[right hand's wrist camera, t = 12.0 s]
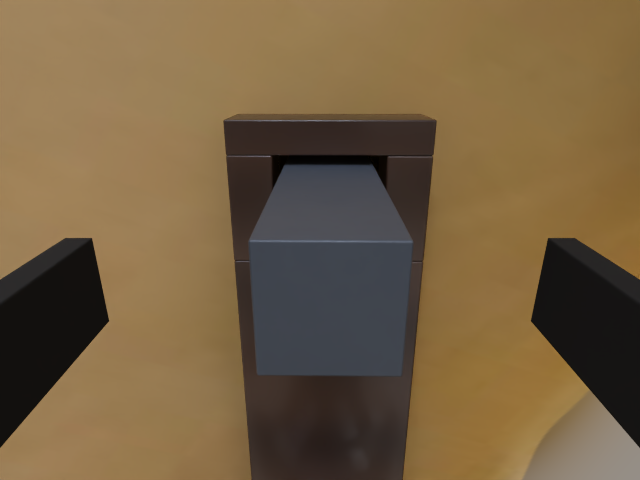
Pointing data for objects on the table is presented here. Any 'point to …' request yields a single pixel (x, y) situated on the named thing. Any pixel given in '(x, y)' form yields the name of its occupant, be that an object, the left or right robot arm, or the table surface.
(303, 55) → the table surface
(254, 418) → the walnut plank
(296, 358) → the grey peg
